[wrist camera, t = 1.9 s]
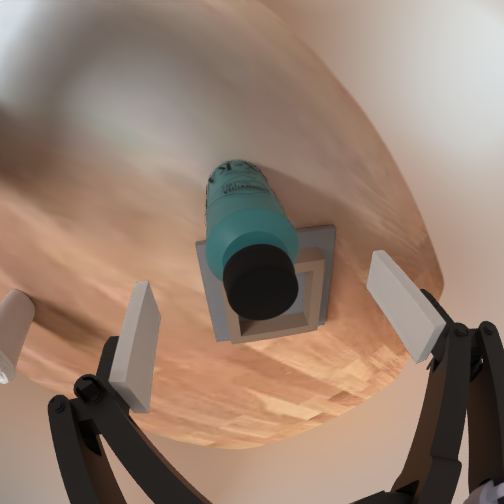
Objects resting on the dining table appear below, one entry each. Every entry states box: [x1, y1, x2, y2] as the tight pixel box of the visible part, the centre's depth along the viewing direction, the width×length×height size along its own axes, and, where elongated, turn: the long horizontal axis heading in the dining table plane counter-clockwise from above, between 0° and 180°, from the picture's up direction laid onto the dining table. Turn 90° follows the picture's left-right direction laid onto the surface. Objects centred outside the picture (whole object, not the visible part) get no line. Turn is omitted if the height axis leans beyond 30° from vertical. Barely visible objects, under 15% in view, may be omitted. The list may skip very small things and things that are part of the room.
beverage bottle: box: [204, 160, 299, 321], centre depth 23 cm, size 6×7×20 cm
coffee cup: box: [0, 289, 35, 384], centre depth 29 cm, size 10×10×15 cm
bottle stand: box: [196, 225, 336, 344], centre depth 38 cm, size 18×18×4 cm
